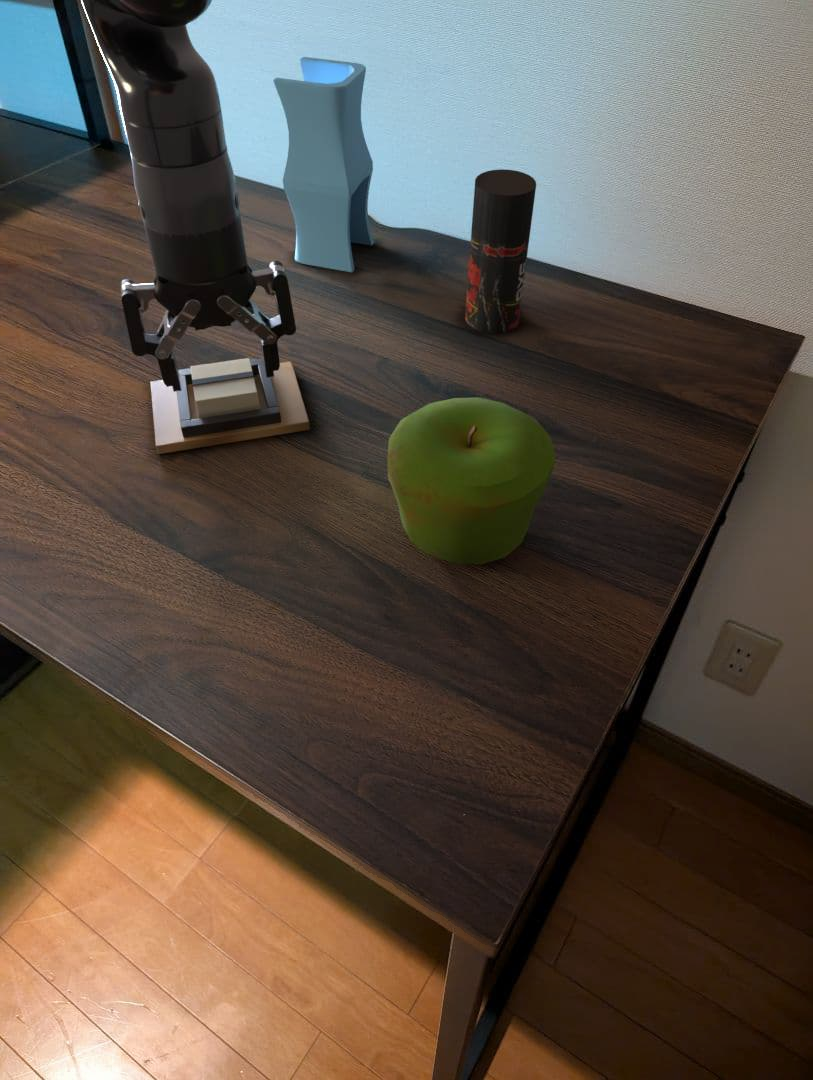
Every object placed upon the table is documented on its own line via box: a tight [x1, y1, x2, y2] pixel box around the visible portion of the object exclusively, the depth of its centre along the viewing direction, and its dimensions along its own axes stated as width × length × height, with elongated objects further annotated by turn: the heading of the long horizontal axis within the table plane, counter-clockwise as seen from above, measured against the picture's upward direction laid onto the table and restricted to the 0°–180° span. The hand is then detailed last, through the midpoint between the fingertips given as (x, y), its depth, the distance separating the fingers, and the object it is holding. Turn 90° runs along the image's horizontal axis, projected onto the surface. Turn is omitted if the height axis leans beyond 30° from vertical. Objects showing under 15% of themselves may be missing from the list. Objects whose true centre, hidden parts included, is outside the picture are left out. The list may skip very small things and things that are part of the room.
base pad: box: [149, 357, 311, 455], centre depth 76 cm, size 14×10×2 cm
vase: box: [273, 56, 375, 273], centre depth 91 cm, size 8×8×20 cm
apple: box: [387, 396, 557, 565], centre depth 62 cm, size 12×12×11 cm
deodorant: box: [464, 169, 537, 334], centre depth 83 cm, size 6×6×15 cm
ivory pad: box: [189, 357, 260, 419], centre depth 75 cm, size 6×6×3 cm
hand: (223, 379), depth 74 cm, fingers open, 8 cm apart
